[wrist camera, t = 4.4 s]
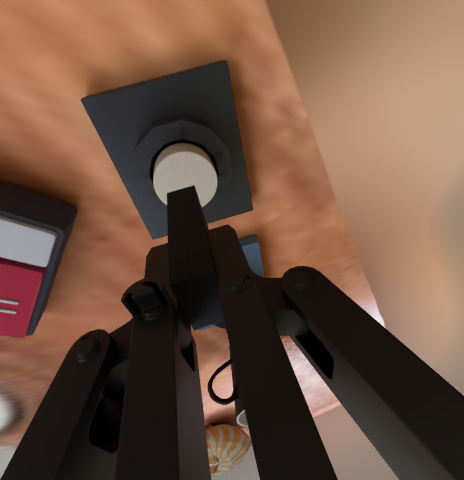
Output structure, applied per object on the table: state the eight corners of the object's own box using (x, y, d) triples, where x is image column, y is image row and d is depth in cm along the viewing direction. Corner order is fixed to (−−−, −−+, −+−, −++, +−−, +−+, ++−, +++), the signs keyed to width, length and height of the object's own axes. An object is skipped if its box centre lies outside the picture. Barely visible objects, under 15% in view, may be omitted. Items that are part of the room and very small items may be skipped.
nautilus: (197, 449, 67) (154, 440, 59) (261, 421, 61) (222, 407, 53) (198, 490, 61) (149, 486, 53) (270, 463, 55) (227, 454, 47)
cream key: (144, 152, 17) (142, 161, 16) (204, 135, 18) (208, 143, 16) (166, 205, 20) (167, 218, 19) (219, 190, 20) (223, 202, 19)
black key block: (85, 96, 17) (70, 103, 15) (223, 60, 18) (233, 60, 15) (153, 231, 25) (151, 252, 22) (249, 203, 25) (259, 221, 22)
